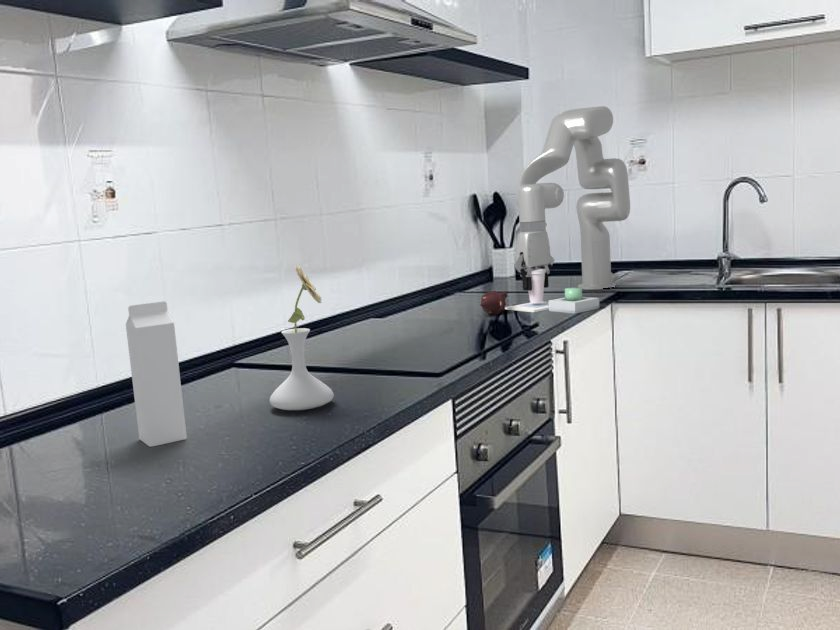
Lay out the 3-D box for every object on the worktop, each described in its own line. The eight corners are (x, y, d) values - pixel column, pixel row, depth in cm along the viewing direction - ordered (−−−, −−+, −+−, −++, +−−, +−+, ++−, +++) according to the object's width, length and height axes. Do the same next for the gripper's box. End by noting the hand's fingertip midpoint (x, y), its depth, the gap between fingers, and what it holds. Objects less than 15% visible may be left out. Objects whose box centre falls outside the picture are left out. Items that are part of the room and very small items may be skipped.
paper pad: (538, 303, 259) (538, 300, 259) (567, 305, 249) (567, 303, 249) (505, 309, 250) (504, 307, 250) (534, 312, 241) (533, 309, 241)
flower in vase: (320, 416, 143) (307, 269, 140) (259, 415, 146) (245, 271, 143) (347, 396, 156) (336, 261, 152) (290, 396, 159) (278, 264, 155)
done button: (573, 299, 244) (572, 287, 243) (585, 300, 240) (585, 287, 240) (561, 301, 241) (561, 289, 240) (574, 302, 237) (573, 290, 237)
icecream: (495, 296, 233) (518, 293, 246) (472, 289, 237) (496, 286, 250) (489, 320, 235) (513, 316, 247) (467, 313, 238) (491, 309, 251)
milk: (139, 439, 136) (122, 304, 133) (176, 431, 140) (160, 299, 137) (149, 447, 131) (132, 307, 128) (188, 439, 135) (172, 302, 131)
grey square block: (572, 306, 248) (572, 296, 247) (599, 308, 240) (599, 298, 239) (548, 310, 242) (548, 300, 241) (575, 313, 234) (574, 302, 234)
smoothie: (540, 304, 245) (538, 255, 243) (521, 303, 249) (519, 256, 247) (551, 300, 250) (549, 253, 248) (532, 300, 254) (530, 253, 252)
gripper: (544, 225, 255) (547, 284, 257) (502, 230, 244) (505, 291, 247) (562, 225, 249) (565, 285, 251) (520, 230, 238) (523, 293, 241)
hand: (535, 288), depth 249 cm, fingers closed on smoothie, 6 cm apart
